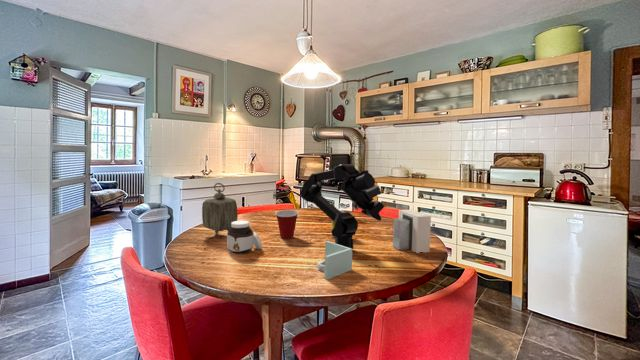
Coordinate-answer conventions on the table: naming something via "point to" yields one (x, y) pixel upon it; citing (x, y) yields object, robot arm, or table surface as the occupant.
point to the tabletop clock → (219, 212)
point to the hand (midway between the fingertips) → (380, 219)
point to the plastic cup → (286, 223)
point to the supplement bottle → (332, 220)
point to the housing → (418, 230)
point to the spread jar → (242, 238)
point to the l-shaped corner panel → (335, 260)
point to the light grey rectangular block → (402, 233)
